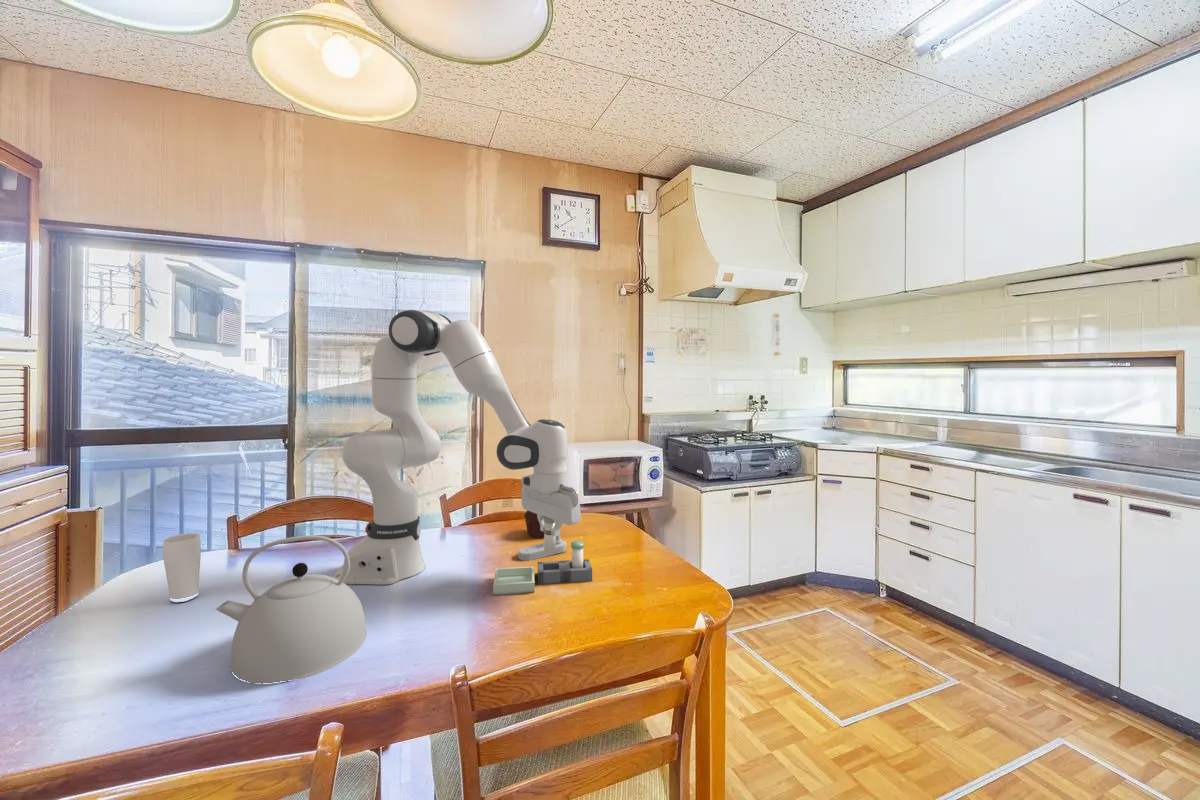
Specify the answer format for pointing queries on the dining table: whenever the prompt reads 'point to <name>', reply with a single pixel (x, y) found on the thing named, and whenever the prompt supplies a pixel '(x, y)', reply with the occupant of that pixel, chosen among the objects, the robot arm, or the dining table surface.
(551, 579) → the socket block
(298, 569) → the kettle
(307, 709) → the dining table surface
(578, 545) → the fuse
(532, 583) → the parts tray
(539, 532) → the muffin
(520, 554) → the electronic device
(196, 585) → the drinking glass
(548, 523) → the cylinder
